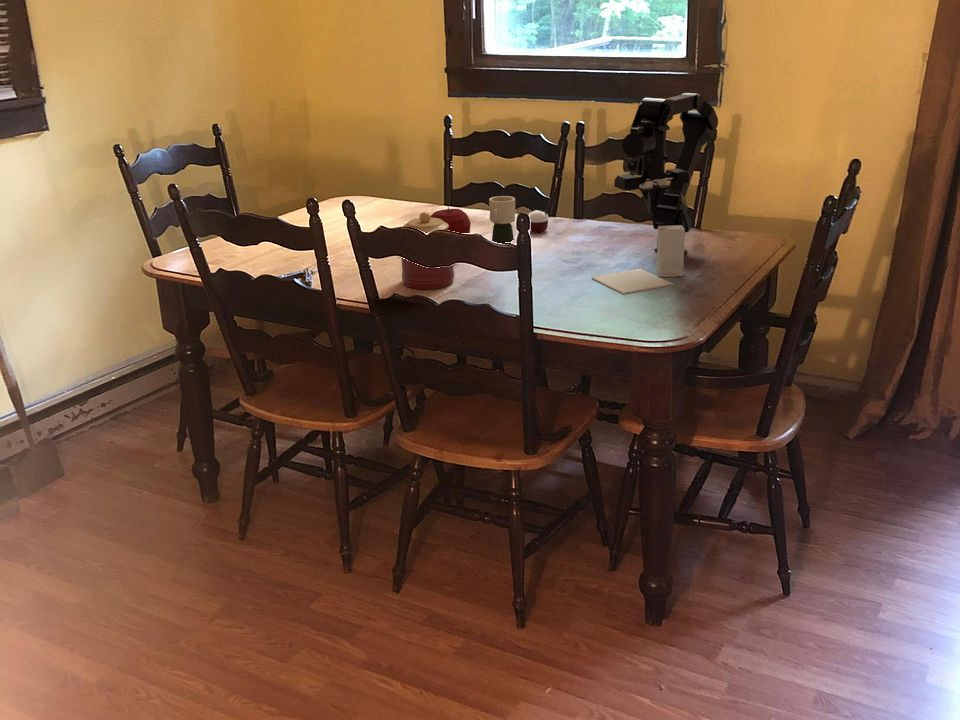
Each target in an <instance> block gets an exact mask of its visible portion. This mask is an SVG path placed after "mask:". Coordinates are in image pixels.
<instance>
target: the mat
mask: <svg viewBox="0 0 960 720" xmlns="http://www.w3.org/2000/svg"><path fill="white" fill-rule="evenodd" d="M593 279H594V281H595V280H596V282H597V283H600V284H601V285H603V286H605V287H607V288H610V289H611V290H614V291H615V292H616V293H617V292H618V293H619V294H620V295H627V294H634V293H639V292H644V291H648V290H653V289H658V288H664V287H668V286H669V287H670V286H674V283H673V282H671V281H668V280H666V279H664V278H663V277H659V276H657V275H655V274H653V273H650V272H649V271H646V270H644V269H641V268H636V269H629V270H623V271H618V272H613V273H608V274H607V273H606V274H602V275H597V276H596V275H595V276H591V280H593Z"/></svg>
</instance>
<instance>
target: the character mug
mask: <svg viewBox="0 0 960 720" xmlns="http://www.w3.org/2000/svg"><path fill="white" fill-rule="evenodd" d="M488 207H489V221H490V222H491V223H493V227H492V234H491V235H492V236H491V242H492V241H494V242H497V243H502V244H510V245H512V244H511V243H505V242H511V241H512V240H514V241H515V237H514V230H513V225H512V223H514V222H515V221H516V197H514V196H509V195H501V196H492V197H490V198H488Z"/></svg>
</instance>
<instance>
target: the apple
mask: <svg viewBox="0 0 960 720" xmlns="http://www.w3.org/2000/svg"><path fill="white" fill-rule="evenodd" d="M430 218H438V219H441V220H442V221H444V222H445V223H447V224H448V225H449V227H448V229H447V230H450V231H455V232H459V233H470V234H471V225H472V224H471V221H470V217H469V215H468V214H467V213H466V212H465V211H464V210H462V209H460V208H450V207H449V206H448V207H447V209H446V208H444V209H440V210H436V211H434V212H433V213H431V214H430Z"/></svg>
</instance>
